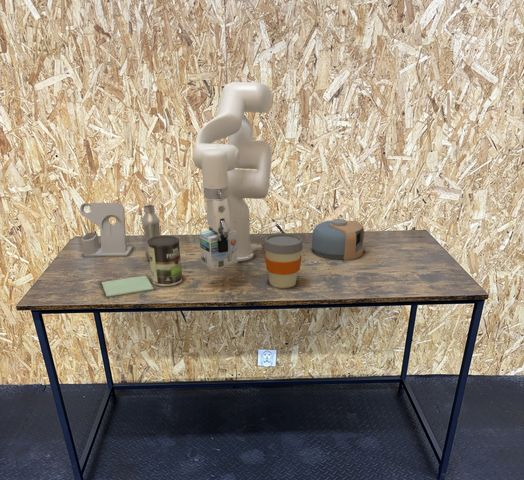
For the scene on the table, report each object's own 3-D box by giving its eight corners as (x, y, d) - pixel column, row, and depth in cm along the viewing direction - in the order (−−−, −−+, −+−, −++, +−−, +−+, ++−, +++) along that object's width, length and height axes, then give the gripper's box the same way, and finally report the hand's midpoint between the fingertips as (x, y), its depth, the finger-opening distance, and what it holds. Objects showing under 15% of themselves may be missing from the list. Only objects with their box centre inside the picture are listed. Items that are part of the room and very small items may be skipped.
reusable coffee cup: (261, 289, 163) (261, 244, 155) (266, 274, 174) (266, 232, 166) (299, 291, 162) (301, 246, 154) (302, 276, 172) (304, 234, 165)
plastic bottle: (147, 264, 182) (140, 209, 172) (145, 257, 188) (139, 204, 178) (164, 262, 184) (159, 208, 173) (162, 256, 189) (157, 203, 179)
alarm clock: (354, 263, 183) (357, 231, 177) (304, 254, 191) (305, 223, 185) (368, 247, 198) (371, 217, 192) (321, 240, 206) (323, 211, 200)
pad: (146, 276, 172) (146, 275, 171) (153, 289, 162) (153, 288, 162) (101, 283, 167) (101, 282, 166) (106, 297, 157) (106, 295, 157)
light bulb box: (212, 270, 158) (210, 238, 153) (200, 264, 163) (198, 232, 157) (238, 262, 164) (237, 230, 158) (226, 256, 168) (225, 225, 163)
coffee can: (188, 278, 170) (185, 238, 163) (168, 288, 163) (164, 247, 156) (165, 272, 175) (161, 233, 168) (145, 282, 168) (140, 241, 160)
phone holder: (81, 256, 189) (72, 209, 180) (89, 247, 197) (80, 202, 188) (127, 256, 189) (120, 209, 180) (132, 247, 198) (126, 201, 189)
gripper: (237, 198, 146) (239, 254, 155) (218, 184, 159) (220, 237, 168) (213, 201, 143) (216, 258, 152) (195, 187, 157) (199, 240, 166)
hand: (218, 247), depth 160 cm, fingers closed on light bulb box, 8 cm apart
